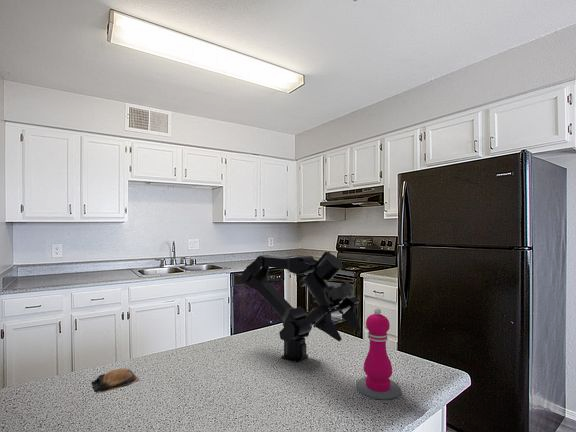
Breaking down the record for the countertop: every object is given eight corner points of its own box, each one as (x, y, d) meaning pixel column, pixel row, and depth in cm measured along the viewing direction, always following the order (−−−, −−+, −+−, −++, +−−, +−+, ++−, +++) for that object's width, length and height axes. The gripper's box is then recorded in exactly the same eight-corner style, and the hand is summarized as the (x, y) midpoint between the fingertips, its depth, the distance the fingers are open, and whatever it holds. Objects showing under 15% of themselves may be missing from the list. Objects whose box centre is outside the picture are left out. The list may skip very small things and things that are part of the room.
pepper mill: (385, 379, 88) (385, 304, 89) (397, 392, 81) (396, 311, 82) (359, 380, 87) (359, 305, 88) (369, 393, 80) (369, 311, 81)
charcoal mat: (349, 391, 83) (349, 389, 83) (365, 375, 92) (365, 373, 92) (393, 404, 76) (393, 402, 76) (405, 386, 86) (405, 383, 86)
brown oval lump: (131, 373, 94) (131, 360, 94) (141, 383, 87) (141, 369, 88) (88, 384, 87) (89, 370, 87) (96, 396, 80) (96, 381, 81)
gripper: (313, 278, 88) (347, 329, 80) (353, 269, 101) (386, 312, 93) (293, 301, 93) (322, 351, 85) (333, 290, 106) (362, 333, 98)
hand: (350, 336), depth 90 cm, fingers open, 9 cm apart
